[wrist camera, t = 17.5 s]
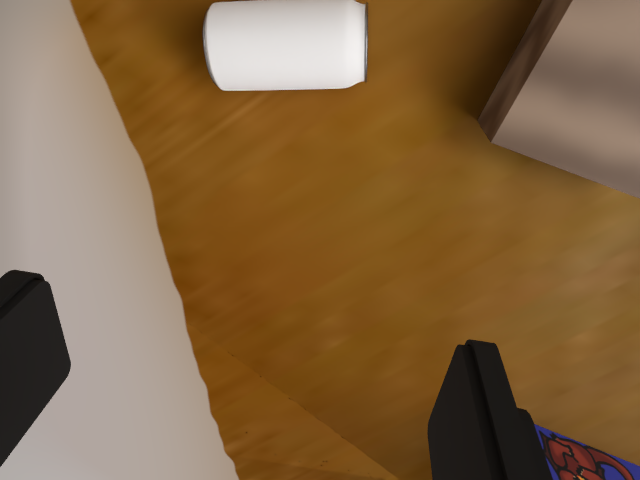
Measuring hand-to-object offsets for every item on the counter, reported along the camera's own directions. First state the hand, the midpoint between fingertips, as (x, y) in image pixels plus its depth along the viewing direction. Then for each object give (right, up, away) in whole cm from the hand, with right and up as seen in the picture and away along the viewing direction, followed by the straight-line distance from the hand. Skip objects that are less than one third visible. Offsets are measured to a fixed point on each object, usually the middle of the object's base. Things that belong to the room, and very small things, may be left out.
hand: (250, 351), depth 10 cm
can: (-7, +18, +25) cm, 32 cm away
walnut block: (+24, +17, +27) cm, 40 cm away
